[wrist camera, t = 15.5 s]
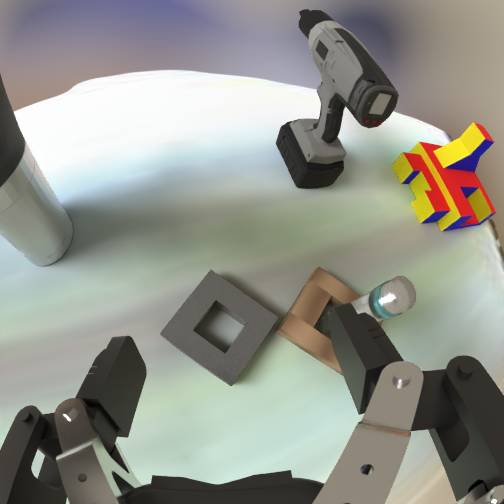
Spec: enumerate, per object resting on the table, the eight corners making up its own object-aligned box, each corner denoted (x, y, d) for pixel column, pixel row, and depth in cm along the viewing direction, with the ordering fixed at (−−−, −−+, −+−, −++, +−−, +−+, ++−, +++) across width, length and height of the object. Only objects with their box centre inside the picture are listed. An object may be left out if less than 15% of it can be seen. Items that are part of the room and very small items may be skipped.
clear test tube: (314, 329, 37) (384, 297, 22) (325, 309, 38) (395, 268, 24) (333, 342, 36) (410, 318, 22) (344, 322, 38) (420, 288, 24)
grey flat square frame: (162, 336, 33) (159, 333, 31) (210, 276, 37) (211, 269, 35) (229, 385, 32) (231, 385, 30) (273, 321, 36) (278, 317, 34)
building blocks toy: (386, 158, 55) (430, 99, 39) (447, 164, 62) (486, 122, 45) (424, 234, 48) (487, 183, 32) (479, 225, 55) (527, 188, 38)
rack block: (275, 331, 36) (281, 328, 33) (312, 273, 40) (319, 266, 38) (346, 377, 35) (355, 377, 32) (375, 318, 39) (385, 314, 37)
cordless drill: (290, 106, 55) (328, 6, 33) (341, 198, 47) (422, 86, 24) (255, 106, 53) (286, -2, 31) (301, 203, 45) (377, 73, 22)
